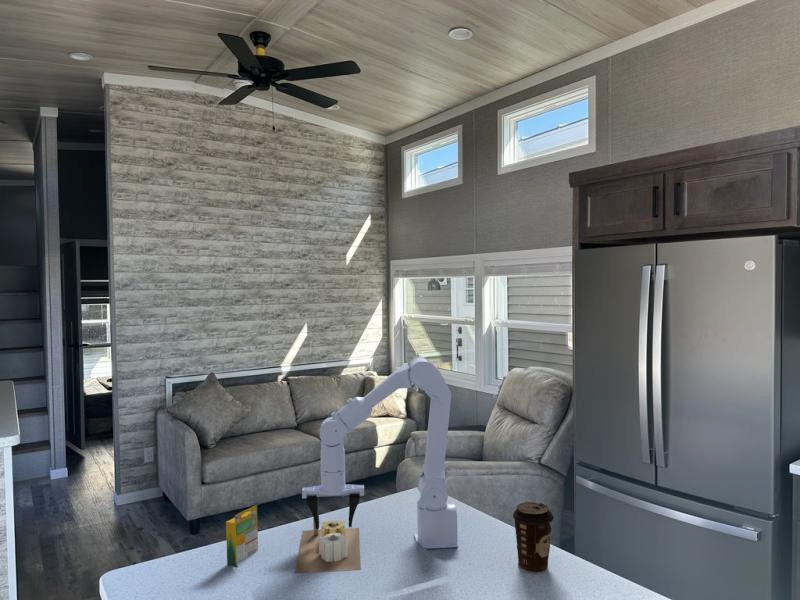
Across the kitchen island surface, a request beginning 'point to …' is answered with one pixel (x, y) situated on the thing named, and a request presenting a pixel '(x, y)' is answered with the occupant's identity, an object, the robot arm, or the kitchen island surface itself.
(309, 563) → the gear board
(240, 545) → the crayon box
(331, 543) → the nylon gear
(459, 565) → the kitchen island surface
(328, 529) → the brass gear
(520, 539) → the coffee cup
